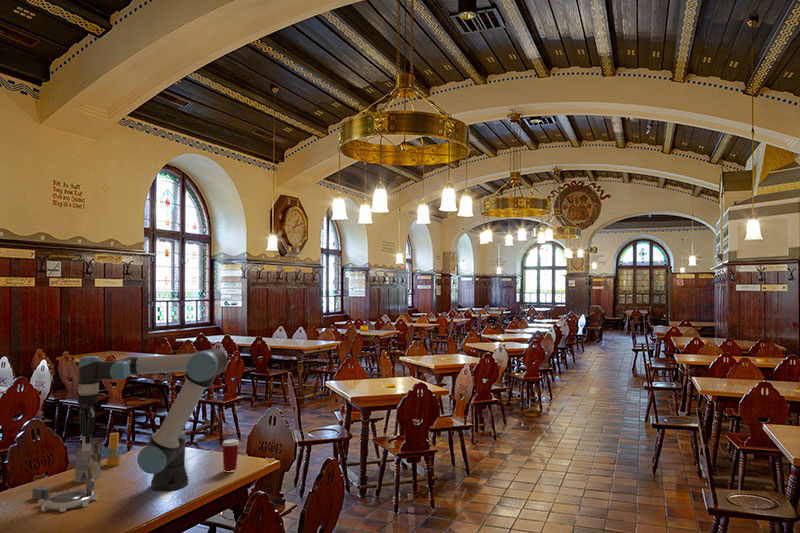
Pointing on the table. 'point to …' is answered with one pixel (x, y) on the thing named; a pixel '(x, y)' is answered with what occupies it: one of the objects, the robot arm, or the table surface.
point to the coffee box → (88, 462)
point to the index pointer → (40, 493)
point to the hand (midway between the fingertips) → (86, 450)
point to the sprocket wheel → (69, 498)
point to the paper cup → (230, 454)
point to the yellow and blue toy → (113, 450)
